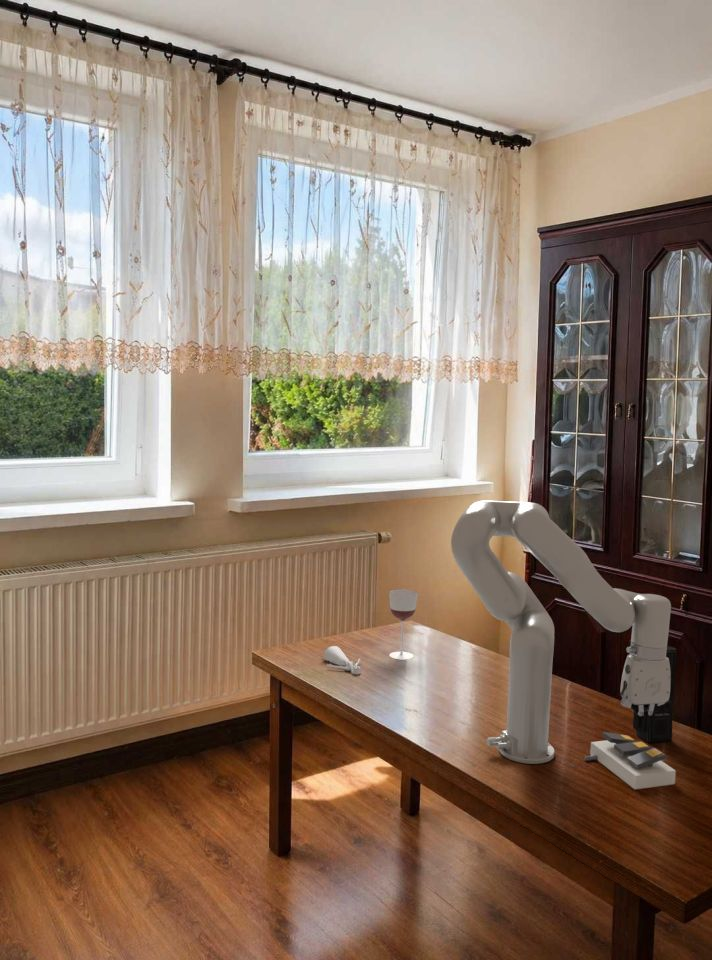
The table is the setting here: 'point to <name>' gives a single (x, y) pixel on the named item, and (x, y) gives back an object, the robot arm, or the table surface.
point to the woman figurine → (340, 660)
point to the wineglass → (402, 614)
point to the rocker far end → (646, 758)
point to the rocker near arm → (617, 738)
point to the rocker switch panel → (631, 767)
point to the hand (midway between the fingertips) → (640, 730)
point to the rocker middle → (631, 748)
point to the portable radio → (663, 709)
